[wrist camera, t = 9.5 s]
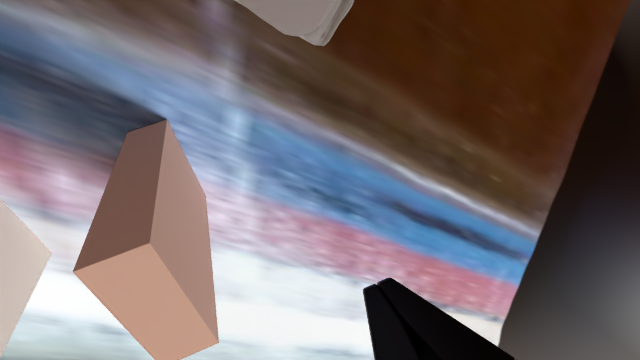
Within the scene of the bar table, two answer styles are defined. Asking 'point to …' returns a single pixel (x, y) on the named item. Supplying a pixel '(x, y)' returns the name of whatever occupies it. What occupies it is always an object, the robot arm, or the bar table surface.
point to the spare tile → (153, 247)
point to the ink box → (302, 16)
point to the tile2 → (17, 269)
